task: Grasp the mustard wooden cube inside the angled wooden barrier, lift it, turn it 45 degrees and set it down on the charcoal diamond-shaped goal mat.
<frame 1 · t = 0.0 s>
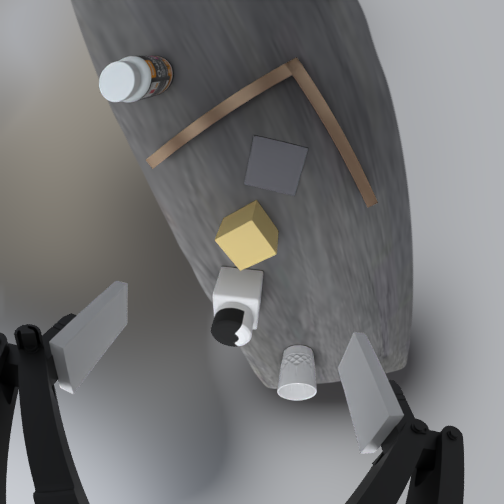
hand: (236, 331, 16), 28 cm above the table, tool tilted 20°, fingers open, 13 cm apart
medicine bottle: (241, 282, 51), on the table
cube: (250, 224, 44), on the table
angled wooden barrier: (264, 163, 38), on the table
pill bottle: (155, 75, 32), on the table
goal mat: (275, 166, 38), on the table
white cup: (298, 352, 62), on the table
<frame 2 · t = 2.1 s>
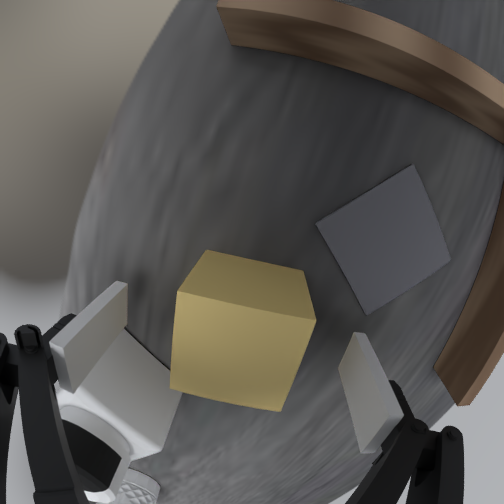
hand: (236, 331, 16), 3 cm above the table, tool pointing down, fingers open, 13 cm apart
medicine bottle: (131, 370, 22), on the table
cube: (245, 303, 19), on the table
angled wooden barrier: (382, 223, 16), on the table
goal mat: (391, 242, 17), on the table
white cup: (137, 477, 29), on the table
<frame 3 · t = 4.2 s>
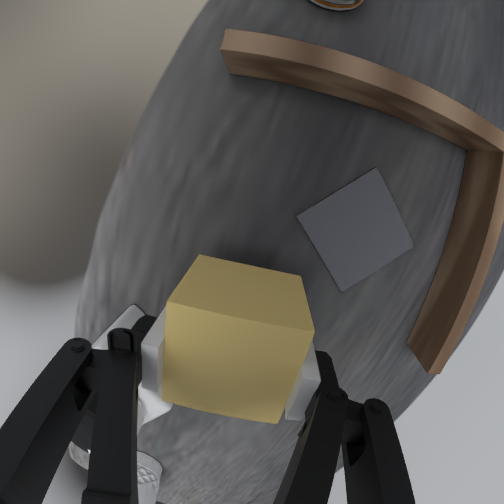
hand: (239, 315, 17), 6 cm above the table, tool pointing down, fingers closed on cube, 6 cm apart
medicine bottle: (141, 347, 26), on the table
cube: (240, 310, 18), point 5 cm above the table, touching gripper
angled wooden barrier: (351, 215, 21), on the table
goal mat: (359, 231, 21), on the table
white cup: (141, 460, 32), on the table
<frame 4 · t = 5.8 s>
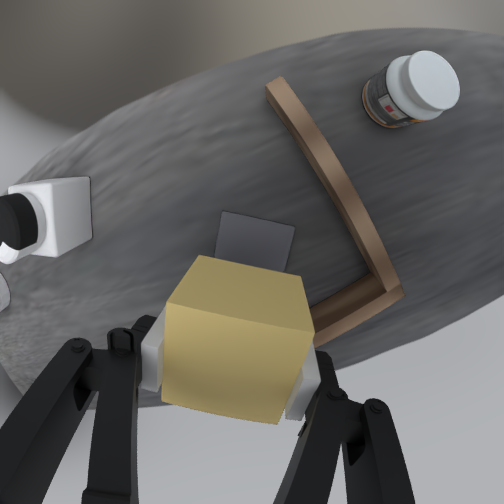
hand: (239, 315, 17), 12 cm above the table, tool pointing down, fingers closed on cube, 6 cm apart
medicine bottle: (69, 207, 29), on the table
cube: (240, 310, 18), point 12 cm above the table, touching gripper
angled wooden barrier: (254, 239, 29), on the table
pill bottle: (385, 101, 24), on the table
goal mat: (251, 253, 29), on the table
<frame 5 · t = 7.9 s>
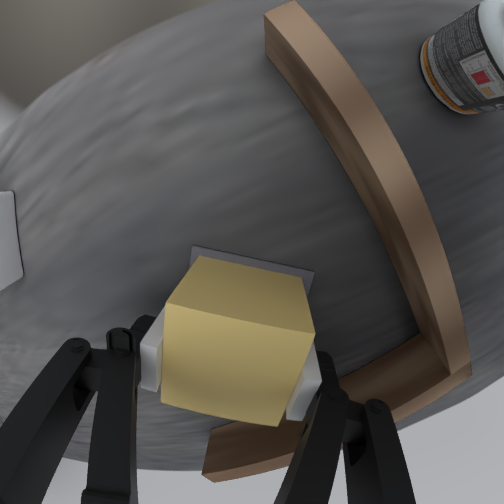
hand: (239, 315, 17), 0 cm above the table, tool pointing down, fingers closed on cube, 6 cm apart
cube: (240, 311, 18), resting on goal mat, touching gripper
angled wooden barrier: (246, 292, 18), on the table
pill bottle: (451, 74, 13), on the table
goal mat: (241, 312, 18), on the table
when the fingers open (0 cm above the table, at t = 8.3 s): cube stays where it is, resting on goal mat.
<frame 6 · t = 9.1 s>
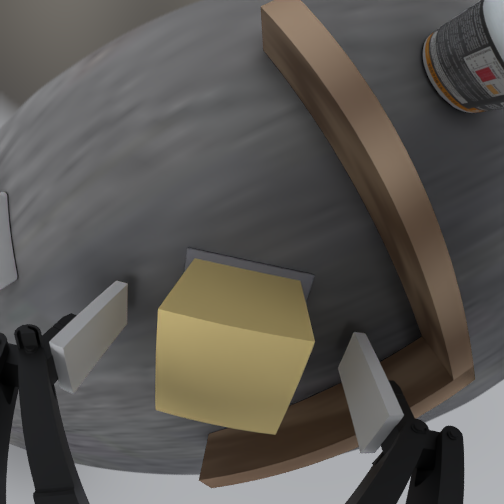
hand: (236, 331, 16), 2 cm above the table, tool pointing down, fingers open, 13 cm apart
cube: (237, 316, 17), resting on goal mat
angled wooden barrier: (243, 295, 17), on the table
pill bottle: (453, 72, 12), on the table
goal mat: (239, 316, 17), on the table
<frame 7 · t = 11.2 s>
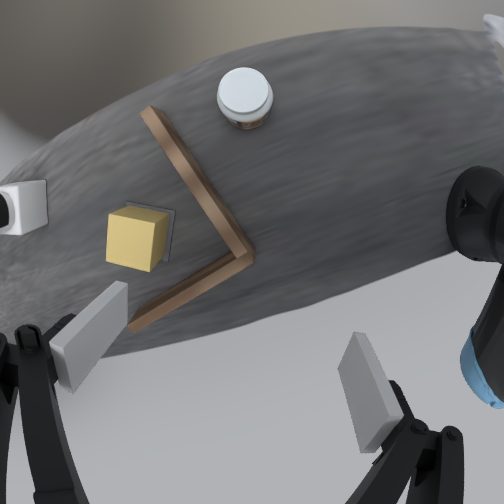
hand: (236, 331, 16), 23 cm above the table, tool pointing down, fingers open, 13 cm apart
medicine bottle: (33, 202, 37), on the table
cube: (146, 230, 38), resting on goal mat
angled wooden barrier: (148, 221, 38), on the table
pill bottle: (247, 108, 34), on the table
goal mat: (147, 231, 38), on the table
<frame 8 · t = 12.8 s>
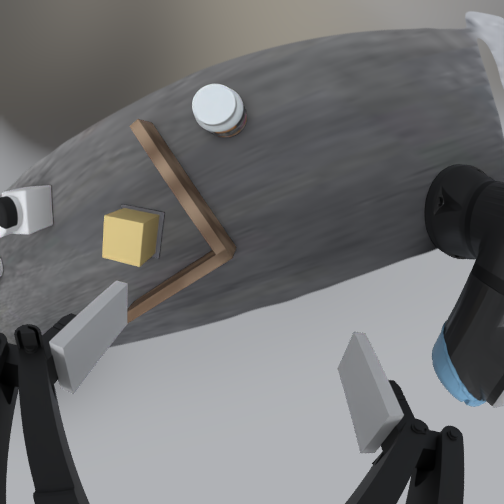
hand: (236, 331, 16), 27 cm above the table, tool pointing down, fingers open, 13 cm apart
medicine bottle: (40, 205, 42), on the table
cube: (139, 230, 42), resting on goal mat
angled wooden barrier: (141, 222, 42), on the table
pill bottle: (226, 118, 37), on the table
goal mat: (140, 231, 42), on the table
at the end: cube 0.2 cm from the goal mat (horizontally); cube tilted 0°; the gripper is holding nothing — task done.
